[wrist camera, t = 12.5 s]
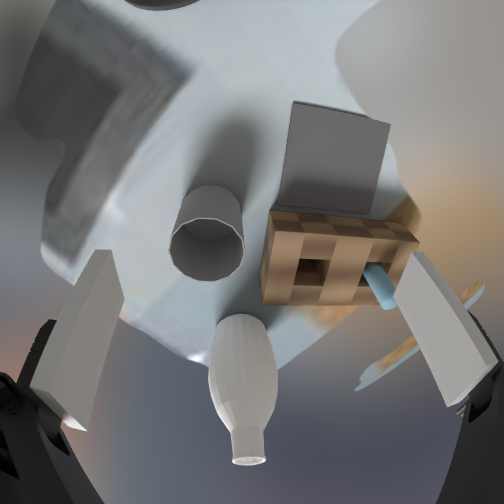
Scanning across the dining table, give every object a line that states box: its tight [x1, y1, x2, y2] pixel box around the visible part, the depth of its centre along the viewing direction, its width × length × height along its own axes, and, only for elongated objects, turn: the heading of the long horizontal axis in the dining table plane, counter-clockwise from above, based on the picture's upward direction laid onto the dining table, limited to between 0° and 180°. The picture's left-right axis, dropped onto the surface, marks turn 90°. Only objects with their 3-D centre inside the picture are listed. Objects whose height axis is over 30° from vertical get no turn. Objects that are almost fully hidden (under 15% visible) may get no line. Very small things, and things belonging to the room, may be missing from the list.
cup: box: [168, 184, 245, 282], centre depth 36 cm, size 8×8×10 cm
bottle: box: [208, 314, 278, 465], centre depth 42 cm, size 11×11×25 cm
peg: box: [363, 262, 397, 310], centre depth 41 cm, size 3×3×12 cm
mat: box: [278, 103, 390, 214], centre depth 37 cm, size 14×14×1 cm
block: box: [259, 210, 420, 306], centre depth 43 cm, size 12×22×6 cm, turn 84°
